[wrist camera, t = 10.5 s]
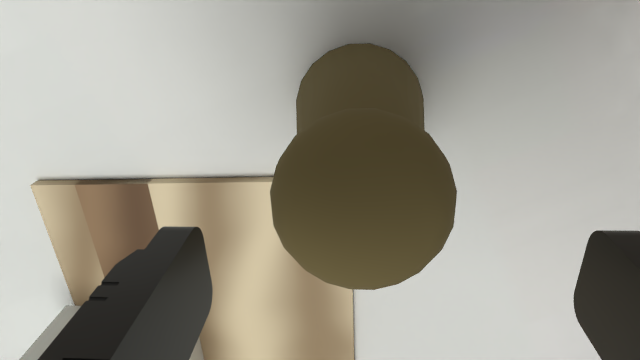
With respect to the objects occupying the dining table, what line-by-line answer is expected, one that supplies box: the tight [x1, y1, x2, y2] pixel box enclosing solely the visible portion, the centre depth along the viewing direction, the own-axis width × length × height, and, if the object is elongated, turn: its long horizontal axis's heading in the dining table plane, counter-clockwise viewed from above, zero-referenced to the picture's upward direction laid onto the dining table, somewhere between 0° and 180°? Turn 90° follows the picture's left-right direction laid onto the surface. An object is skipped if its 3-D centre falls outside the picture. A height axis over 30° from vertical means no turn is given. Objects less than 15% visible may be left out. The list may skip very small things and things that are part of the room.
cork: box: [270, 44, 457, 290], centre depth 16 cm, size 6×6×11 cm
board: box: [30, 177, 354, 360], centre depth 26 cm, size 17×14×1 cm
